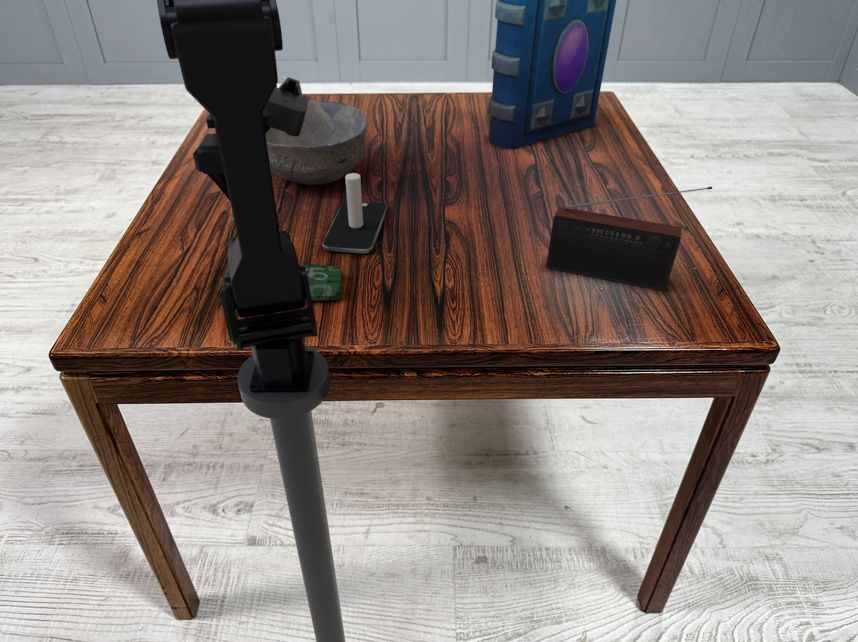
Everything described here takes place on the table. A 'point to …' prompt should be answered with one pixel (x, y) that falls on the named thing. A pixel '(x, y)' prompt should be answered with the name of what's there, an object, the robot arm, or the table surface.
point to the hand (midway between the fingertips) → (249, 194)
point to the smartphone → (355, 240)
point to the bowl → (319, 144)
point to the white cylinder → (354, 200)
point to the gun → (321, 282)
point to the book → (547, 68)
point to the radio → (613, 246)
